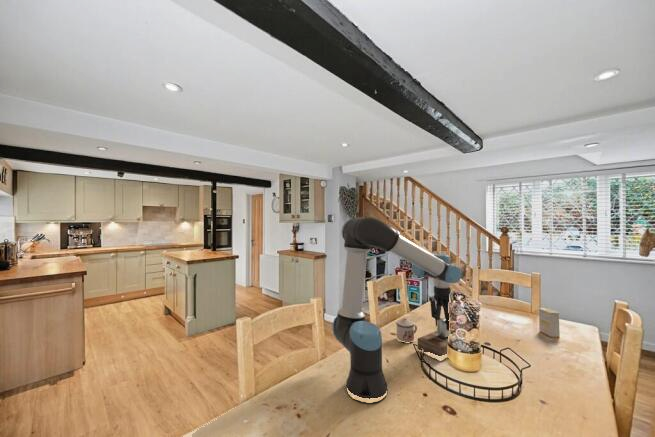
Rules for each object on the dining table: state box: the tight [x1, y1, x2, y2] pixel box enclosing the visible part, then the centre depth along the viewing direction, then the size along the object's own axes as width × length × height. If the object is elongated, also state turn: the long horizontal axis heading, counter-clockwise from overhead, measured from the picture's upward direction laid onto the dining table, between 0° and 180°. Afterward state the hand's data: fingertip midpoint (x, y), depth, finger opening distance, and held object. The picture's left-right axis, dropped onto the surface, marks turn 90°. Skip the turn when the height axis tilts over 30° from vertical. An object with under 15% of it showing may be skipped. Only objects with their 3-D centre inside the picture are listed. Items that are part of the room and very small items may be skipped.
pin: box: [439, 317, 447, 340], centre depth 128 cm, size 3×3×12 cm
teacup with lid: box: [395, 316, 418, 342], centre depth 139 cm, size 12×9×12 cm
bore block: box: [417, 330, 448, 356], centre depth 126 cm, size 16×12×6 cm
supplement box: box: [538, 307, 560, 338], centre depth 143 cm, size 8×5×13 cm, turn 179°
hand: (443, 334), depth 128 cm, fingers closed on pin, 3 cm apart
